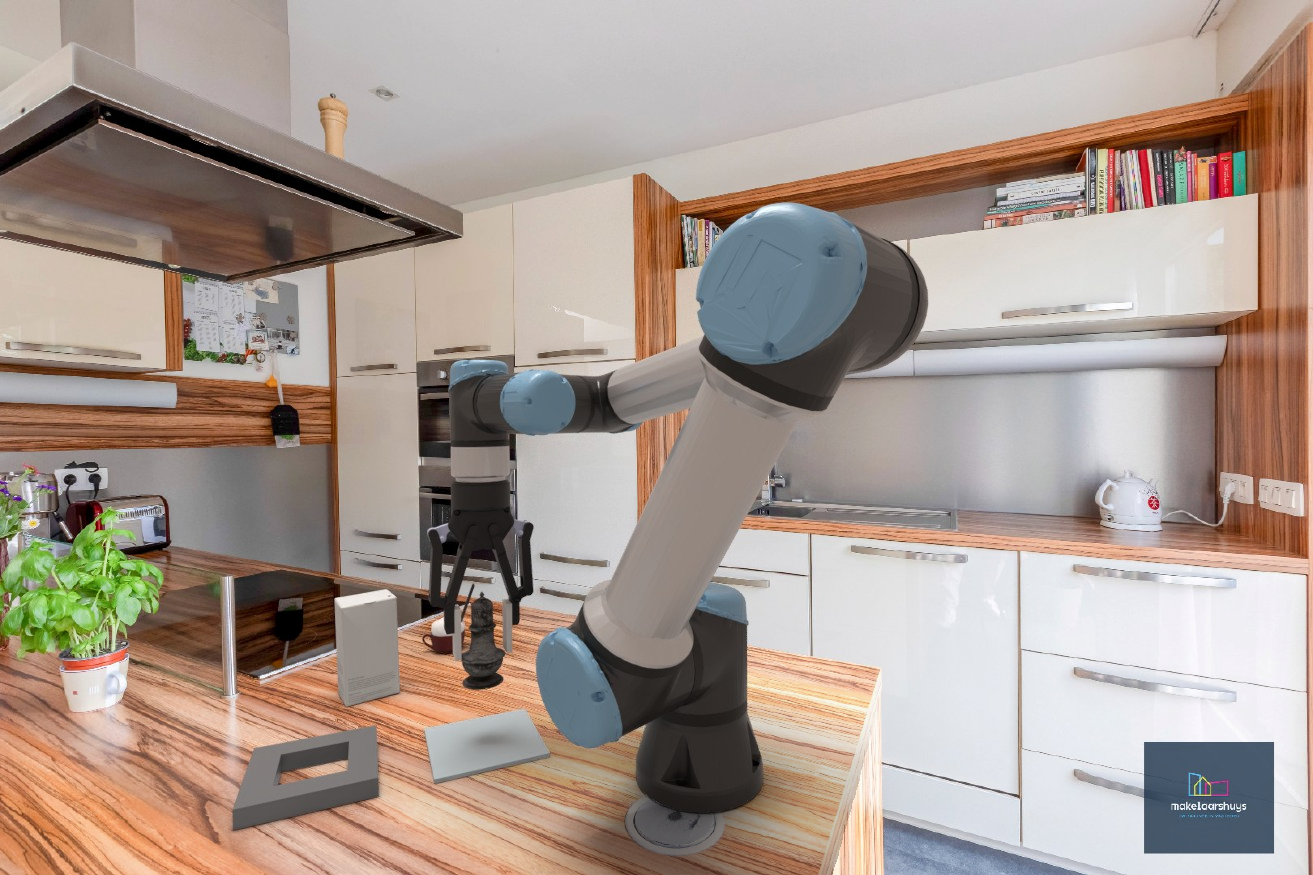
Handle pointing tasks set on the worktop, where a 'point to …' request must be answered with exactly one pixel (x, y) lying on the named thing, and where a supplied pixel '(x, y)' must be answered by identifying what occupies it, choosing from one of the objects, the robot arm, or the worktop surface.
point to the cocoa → (439, 636)
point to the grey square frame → (276, 802)
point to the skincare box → (367, 646)
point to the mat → (483, 745)
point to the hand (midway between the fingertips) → (482, 652)
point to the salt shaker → (482, 648)
